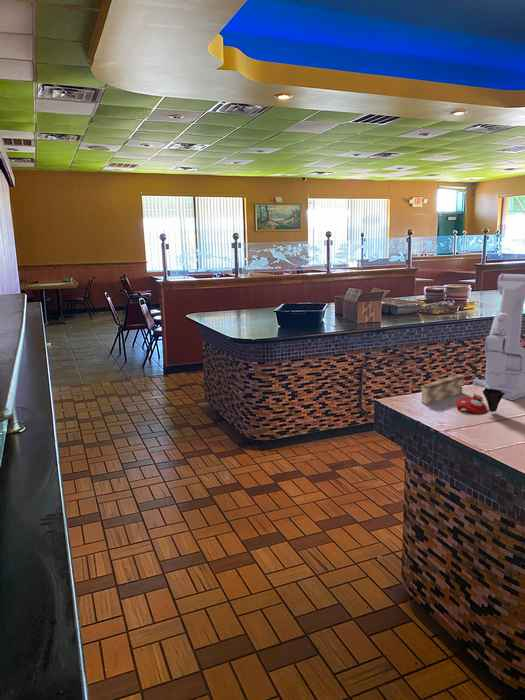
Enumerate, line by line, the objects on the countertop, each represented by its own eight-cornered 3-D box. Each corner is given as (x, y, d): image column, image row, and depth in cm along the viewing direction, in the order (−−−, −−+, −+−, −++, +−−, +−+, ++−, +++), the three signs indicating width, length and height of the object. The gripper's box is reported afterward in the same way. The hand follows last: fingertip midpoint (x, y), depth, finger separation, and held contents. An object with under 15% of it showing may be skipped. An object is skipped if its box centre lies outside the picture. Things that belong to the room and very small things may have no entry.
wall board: (457, 391, 198) (458, 373, 196) (464, 393, 196) (464, 375, 194) (421, 402, 187) (422, 384, 186) (428, 404, 185) (428, 386, 183)
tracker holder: (492, 411, 174) (462, 405, 174) (487, 422, 176) (457, 415, 176) (484, 392, 184) (455, 386, 185) (479, 402, 186) (451, 396, 187)
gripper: (468, 368, 175) (466, 407, 178) (509, 378, 163) (506, 419, 166) (481, 365, 179) (478, 403, 182) (522, 374, 167) (519, 414, 170)
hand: (492, 410), depth 174 cm, fingers closed
